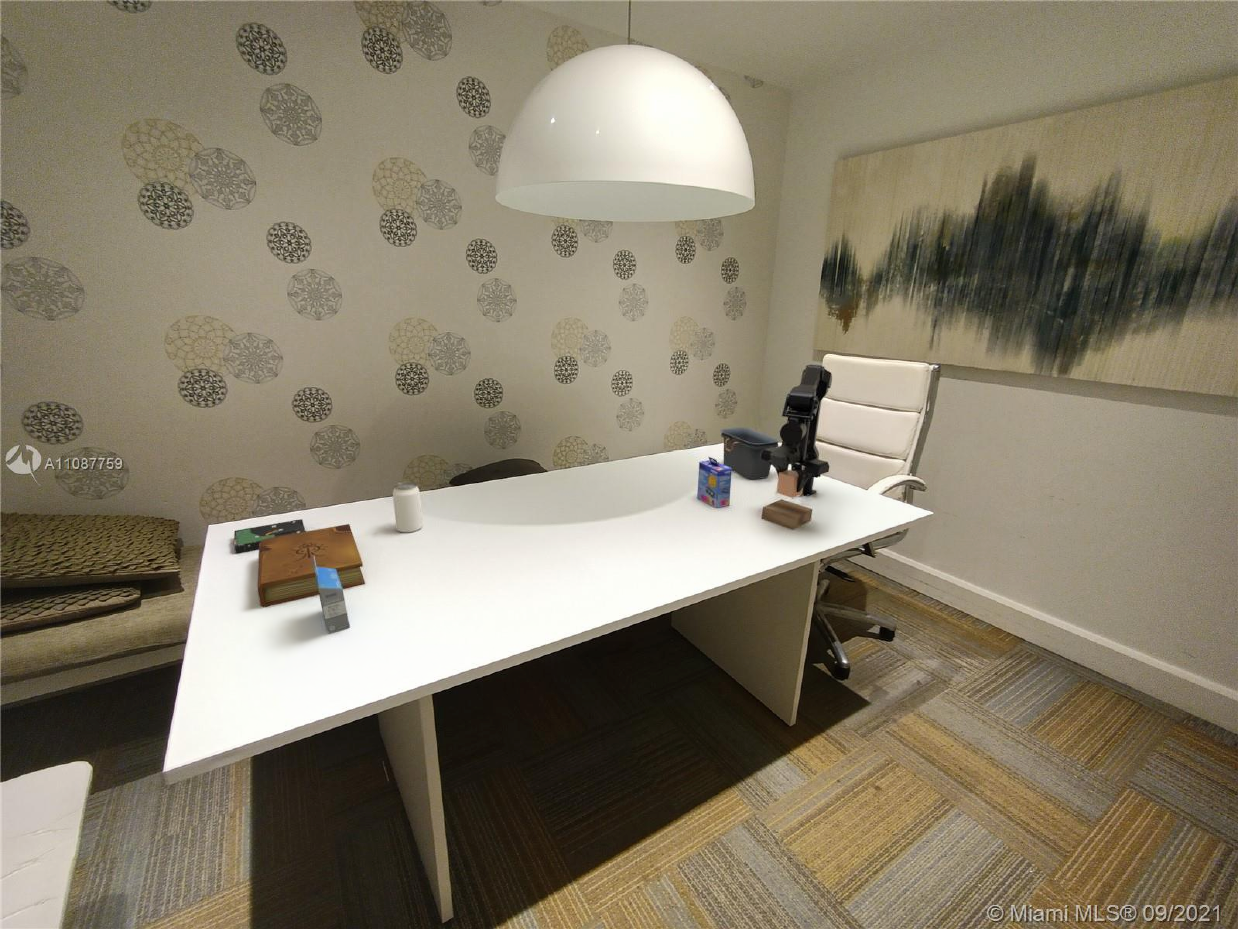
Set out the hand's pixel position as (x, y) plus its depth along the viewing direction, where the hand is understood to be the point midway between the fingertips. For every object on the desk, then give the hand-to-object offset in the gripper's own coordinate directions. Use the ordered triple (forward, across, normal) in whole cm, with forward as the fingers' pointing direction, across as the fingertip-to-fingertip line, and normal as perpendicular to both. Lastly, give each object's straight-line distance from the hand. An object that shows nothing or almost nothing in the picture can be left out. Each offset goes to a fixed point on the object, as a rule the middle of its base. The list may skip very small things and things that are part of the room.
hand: (790, 489), depth 152 cm
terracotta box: (+1, 0, 0) cm, 1 cm away
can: (+9, -55, -89) cm, 105 cm away
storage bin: (+10, -36, +25) cm, 44 cm away
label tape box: (+9, -21, -114) cm, 116 cm away
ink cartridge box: (+10, -22, -7) cm, 25 cm away
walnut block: (+10, 0, 0) cm, 10 cm away
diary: (+10, -44, -114) cm, 123 cm away
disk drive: (+10, -68, -119) cm, 137 cm away
